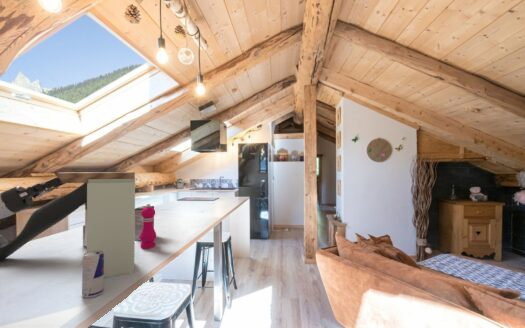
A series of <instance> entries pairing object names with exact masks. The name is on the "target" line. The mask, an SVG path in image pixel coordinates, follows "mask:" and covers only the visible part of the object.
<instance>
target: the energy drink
mask: <svg viewBox="0 0 525 328" xmlns="http://www.w3.org/2000/svg"><path fill="white" fill-rule="evenodd" d="M81 264H82V265H81V266H82V267H81V273H82V274H81V275H82V276H81V278H82V279H81V296H82V297H83V298H85V299H92V298H96V297H98V296H100V295H102V294H103V292H104V289H105V288H104V282H105V281H104V278H105V277H104V253H103V251H91V252H87V251H86V252H84V253H83V255H82V263H81Z"/></svg>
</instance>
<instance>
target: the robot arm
mask: <svg viewBox="0 0 525 328" xmlns="http://www.w3.org/2000/svg"><path fill="white" fill-rule="evenodd" d="M65 184H67V183H62V181H61V180H60V178H59V177H57V176H56V177H55V178H52V179H50V180H46V181H43V182H41V183H40V182H39V183H35V184H33V185H31V186H30V185H29V186H28V187H26V188H25V187H23V186H19V185H17V186H14V187H12V188H10V189H7V190H4V191H2V192H0V220H1V219H5V218H8V217H10V216H12V215H14V214H17V213H20V212H21V211H24V210H26V209H29V208H30V207H33V205H34V200H33V199H36V198H37V199H38V198H40V197H42V196H44V195H45V194H48V193H51V192H53V190H57V189H58V188H59V187H60V186H63V185H65ZM83 205H84V207H85V209H84V211H85V212H84V225H83V226H82V246H83V247H86V248H87V183H81V185H79V186H78V187H76V189H74V190H72V191H70V192H68V193H67V194H64V195H61V196H58V197H57V198H54V199H53V200H51V201H49V202H47V203H46V204H44V205H42V206H41V207H39V208H37V209H35V211H33V213H31V215H30V217H29V218H28V220H27V222H26V223H25V225H24V227H23V229H22V230H21V231H20V233H19V234H18V235H17V236H15V238H14V239H12V240H11V241H10V242H9V241H8V240H7V239H6V238H5V237H4V236H3V235H2V234H0V262H2V261H4V260H6V259H7V258H9V257H10V256H11V255H13V254H14V253H15V252H17V251H18V250H19V249H21V248H22V247H24V245H26V244H27V243H29V242H30V241H32V240H33V239H35V238H37V236H39V235H41V234H42V233H43V232H46V231H47V230H48V229H50V228H52V227H53V226H54V225H56V224H58V223H59V222H61V221H62V220H64V219H65V218H67V217H69V216H70V215H71V214H72V213H74V212H75V211H76V210H77V209H79V208H81V206H83Z"/></svg>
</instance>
